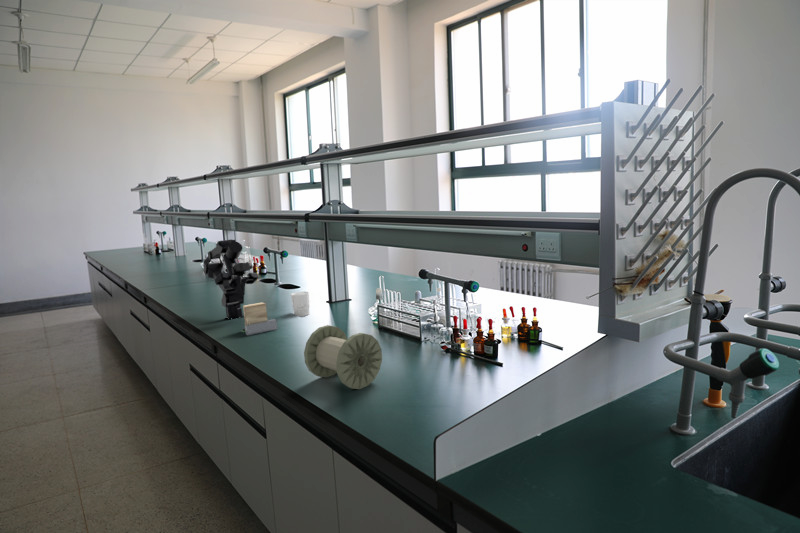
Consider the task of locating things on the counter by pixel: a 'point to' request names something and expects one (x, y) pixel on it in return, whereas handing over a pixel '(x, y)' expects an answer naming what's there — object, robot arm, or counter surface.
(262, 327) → the grey rectangular bar
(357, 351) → the spool
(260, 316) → the block
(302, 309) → the white cup
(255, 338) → the counter surface
